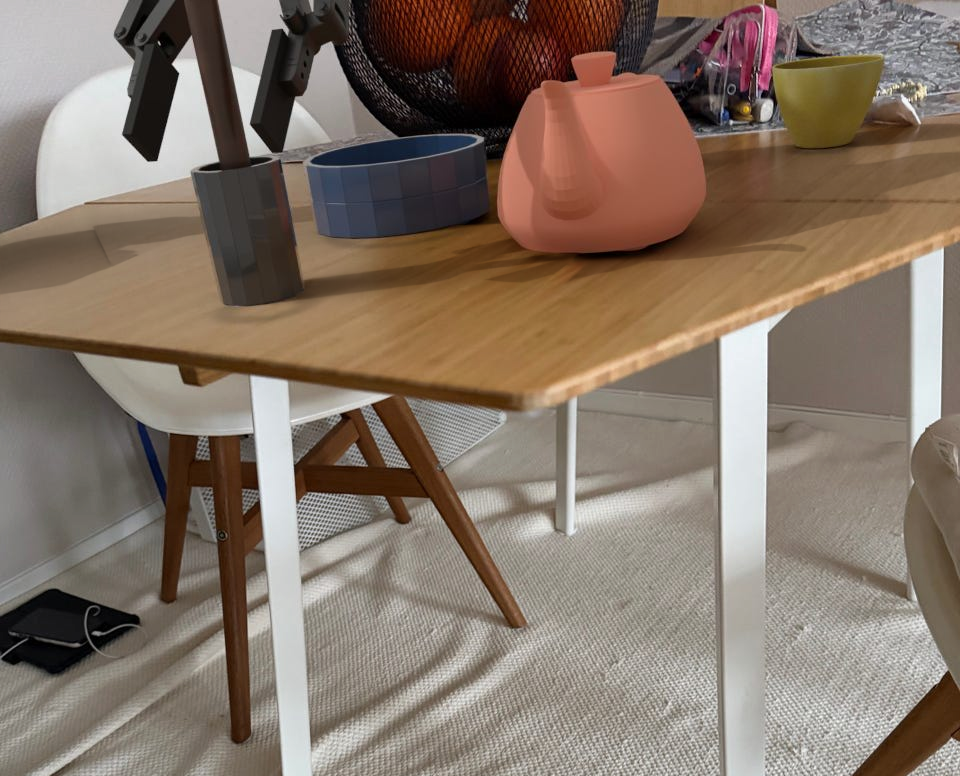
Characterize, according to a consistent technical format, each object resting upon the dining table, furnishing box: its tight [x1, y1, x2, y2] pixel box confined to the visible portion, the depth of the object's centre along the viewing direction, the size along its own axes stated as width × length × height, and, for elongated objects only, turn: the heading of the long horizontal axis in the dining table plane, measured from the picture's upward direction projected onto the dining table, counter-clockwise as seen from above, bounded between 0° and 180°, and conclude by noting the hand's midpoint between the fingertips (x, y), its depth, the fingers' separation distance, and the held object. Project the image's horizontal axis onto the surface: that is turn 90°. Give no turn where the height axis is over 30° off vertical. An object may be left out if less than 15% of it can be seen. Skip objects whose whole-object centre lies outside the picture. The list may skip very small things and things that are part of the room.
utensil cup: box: [189, 155, 306, 307], centre depth 74 cm, size 6×6×9 cm
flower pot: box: [771, 54, 886, 149], centre depth 104 cm, size 10×10×7 cm
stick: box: [184, 0, 251, 170], centre depth 70 cm, size 2×2×20 cm
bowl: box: [302, 133, 492, 239], centre depth 93 cm, size 15×15×6 cm
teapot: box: [496, 51, 707, 254], centre depth 77 cm, size 22×15×12 cm
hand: (201, 143), depth 68 cm, fingers open, 9 cm apart
